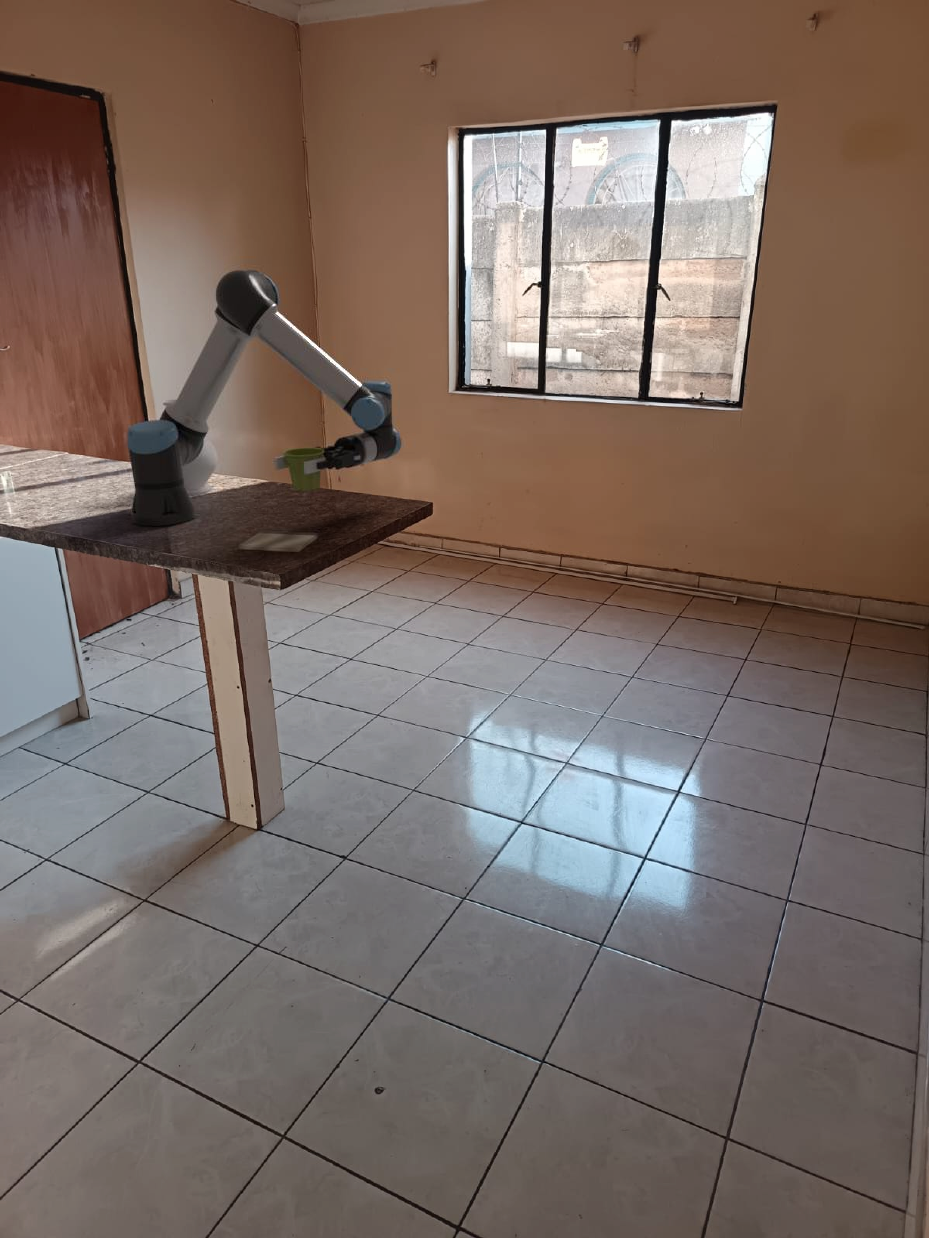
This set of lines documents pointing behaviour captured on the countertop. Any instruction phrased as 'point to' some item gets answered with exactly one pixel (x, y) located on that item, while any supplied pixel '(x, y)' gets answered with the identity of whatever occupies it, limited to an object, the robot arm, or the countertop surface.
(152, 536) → the countertop surface
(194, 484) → the decorative vase
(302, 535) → the board
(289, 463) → the plant pot
